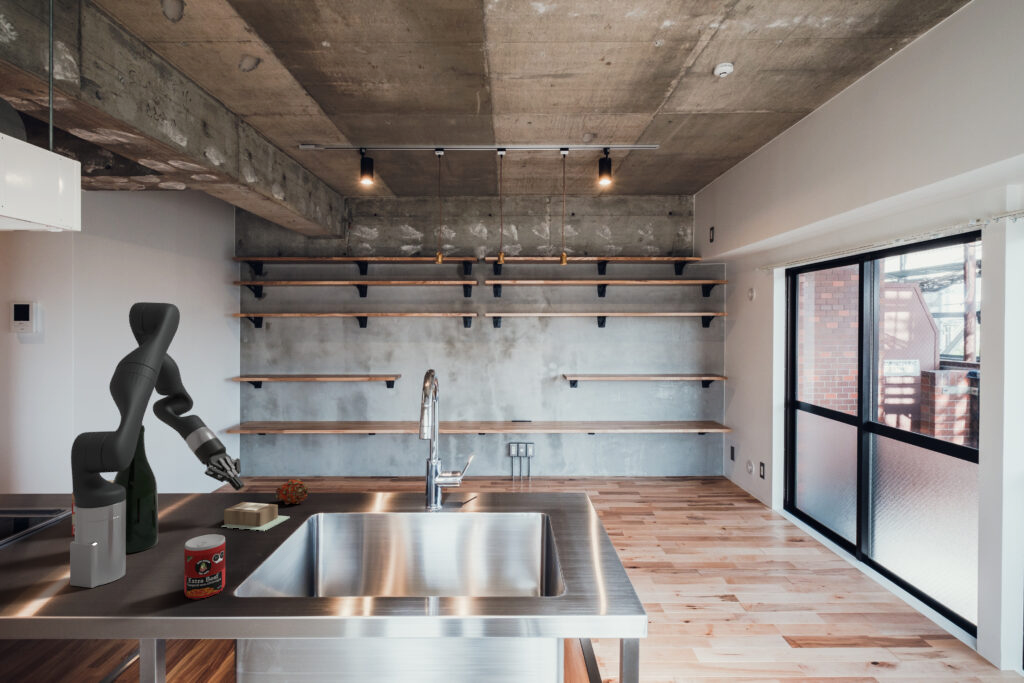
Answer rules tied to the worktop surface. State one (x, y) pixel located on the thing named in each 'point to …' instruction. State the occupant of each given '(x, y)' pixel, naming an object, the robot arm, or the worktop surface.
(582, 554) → the worktop surface
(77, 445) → the robot arm
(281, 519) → the mat
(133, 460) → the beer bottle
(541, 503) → the worktop surface
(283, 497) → the dragon fruit
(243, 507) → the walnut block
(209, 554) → the canned food
